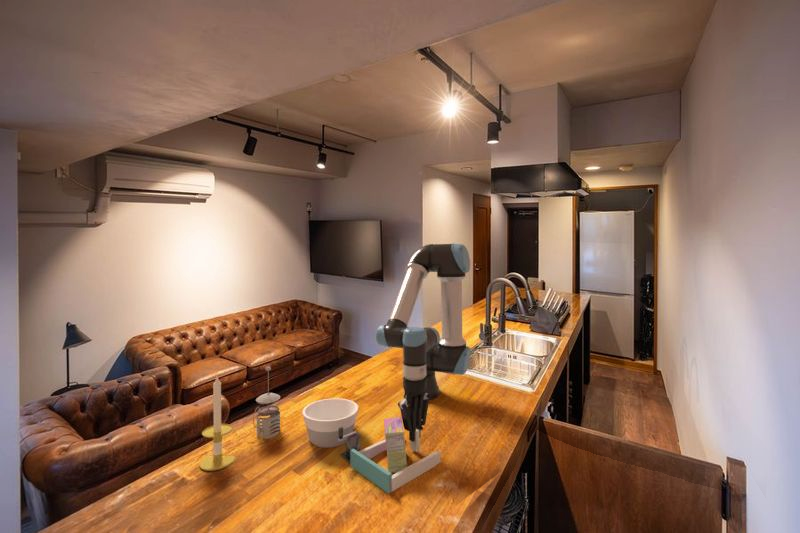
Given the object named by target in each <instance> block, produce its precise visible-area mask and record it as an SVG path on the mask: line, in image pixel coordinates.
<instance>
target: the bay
mask: <svg viewBox="0 0 800 533" xmlns="http://www.w3.org/2000/svg"><path fill="white" fill-rule="evenodd" d="M385 451H387V449H386V440H385V439H383V440H381V441H378V442H376V443H374V444H372V445H370V446H367V447H365V448H363V449H360V451H356V450H355V449H352V450H350V463H349V465H350V467H351V468H352V469H353V470H355V471H356V472H357V473H359V474H360V475H362V476H363V477H364V478H366V479H367V480H368V481H370V482H371V483H372V484H374V485H375V486H376V487H378V488H380V489H381V490H382V491H384V492H385V493H387V495H389V494H391V493H392V492H394V491H396V490H398V489H399V488H401V487H403V486H404V485H407V484H408V483H409V482H411V481H412V480H415V479H416V478H418V477H419V476H421V475H423V474H424V473H426V472H428V471H429V470H432V469H433V468H434V467H436V466H437V465H439V464H440V463H441V451H440V450H435V451H434V452H432V453H430V454H428V455H426V456H425V457H422V458H421V459H419V460H418V461H416V462H414V463H411V464H410V465H407V467H406V468H404V469H403V470H401V471H399V472H395V473H394V474H393V473H390V472H389V471H388V469H385V468H384V467H383V466H381V465H379V464H377V463H376V462H375V461H373V460H371V459H372V458H374V457H376V456H378V455H379V454H381V453H383V452H385Z"/></svg>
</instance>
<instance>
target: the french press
mask: <svg viewBox="0 0 800 533" xmlns="http://www.w3.org/2000/svg"><path fill="white" fill-rule="evenodd" d="M264 370H265V371H267V392H266V393H264V394H261V395H259V396H258V397H256V399H255V401H256V403H257V404H260V405H265V406H261V407H260V406H257V407H256V408H255V410H254V413H253V416H252V424H253V426H254V428H255V429H256V436H257V438H258V439H263V440H264V439H265V440H266V439H271V438H274V437H277V436H278V435H279V434H280V431H279V430H281V412H280V407H279V406H276V405H270V404H273V403H275V402H277V401H279V400H280V399H281V396H280V394H277V393H274V392H269V391H270V390H269V388H270V387H269V386H270V385H269V383H270V380H269V378H270V376H269V374H270V373H269V371H271V370H272V367H271V366H270V365H269V366H266V367H265V369H264ZM266 404H267V405H266ZM256 411H257V414H256ZM255 414H256V425H255V418H254V417H255ZM273 432H274V433H273Z"/></svg>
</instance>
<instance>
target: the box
mask: <svg viewBox="0 0 800 533" xmlns="http://www.w3.org/2000/svg"><path fill="white" fill-rule="evenodd" d="M383 424H384V425H383V427H384V440H386V459H387V460H386V461H387V468H388V469H387V471H389V472H390V473H392V474H393V473H394V474H395V473H397V472H399V471H401V470H403V469H404V468H406V467H408V461H407V452H406V442H405V441H406V439H405V429H404V425H403V420H402V416H397V417H391V418H384V419H383Z"/></svg>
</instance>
